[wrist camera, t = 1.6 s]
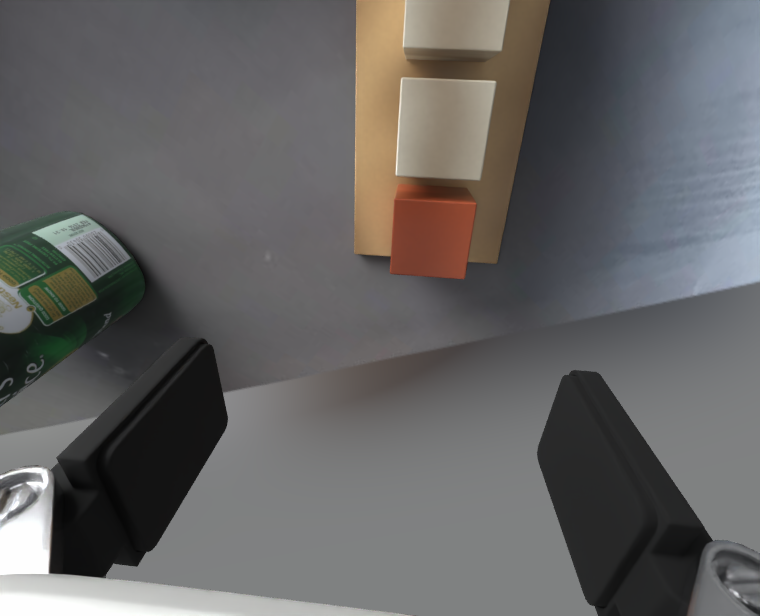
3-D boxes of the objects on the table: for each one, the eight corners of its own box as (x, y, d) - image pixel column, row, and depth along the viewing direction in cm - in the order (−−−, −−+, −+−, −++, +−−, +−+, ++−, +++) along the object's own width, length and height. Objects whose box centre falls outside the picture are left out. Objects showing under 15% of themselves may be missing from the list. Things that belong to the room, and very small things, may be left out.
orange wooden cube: (467, 187, 21) (477, 203, 18) (457, 253, 23) (465, 279, 20) (397, 183, 22) (393, 198, 18) (393, 249, 23) (389, 274, 20)
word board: (593, -230, 14) (662, -363, 10) (495, 260, 24) (511, 291, 20) (360, -228, 15) (338, -354, 11) (355, 251, 24) (343, 279, 20)
